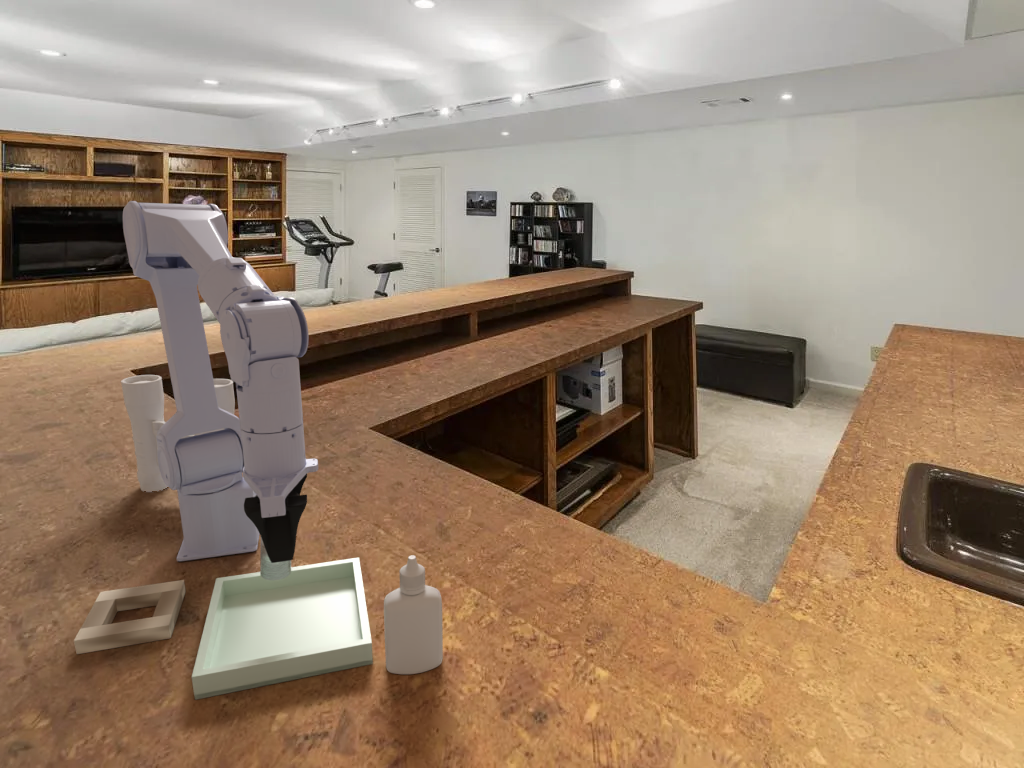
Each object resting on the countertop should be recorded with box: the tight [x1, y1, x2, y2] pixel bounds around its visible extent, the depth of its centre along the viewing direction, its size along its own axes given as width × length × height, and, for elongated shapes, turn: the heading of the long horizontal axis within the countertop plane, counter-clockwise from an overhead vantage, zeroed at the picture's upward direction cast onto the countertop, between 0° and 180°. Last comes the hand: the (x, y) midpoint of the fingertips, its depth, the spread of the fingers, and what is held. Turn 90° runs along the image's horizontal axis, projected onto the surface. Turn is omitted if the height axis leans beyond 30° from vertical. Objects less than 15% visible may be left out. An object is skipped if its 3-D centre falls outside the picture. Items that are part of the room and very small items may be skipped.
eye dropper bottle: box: [383, 554, 444, 675], centre depth 58 cm, size 4×6×12 cm
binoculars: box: [120, 374, 236, 493], centre depth 94 cm, size 17×5×18 cm, turn 84°
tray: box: [191, 557, 374, 701], centre depth 64 cm, size 16×16×2 cm
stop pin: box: [255, 491, 299, 580], centre depth 61 cm, size 4×4×8 cm
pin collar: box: [73, 579, 186, 655], centre depth 65 cm, size 8×8×2 cm
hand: (282, 547), depth 62 cm, fingers closed on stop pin, 4 cm apart
